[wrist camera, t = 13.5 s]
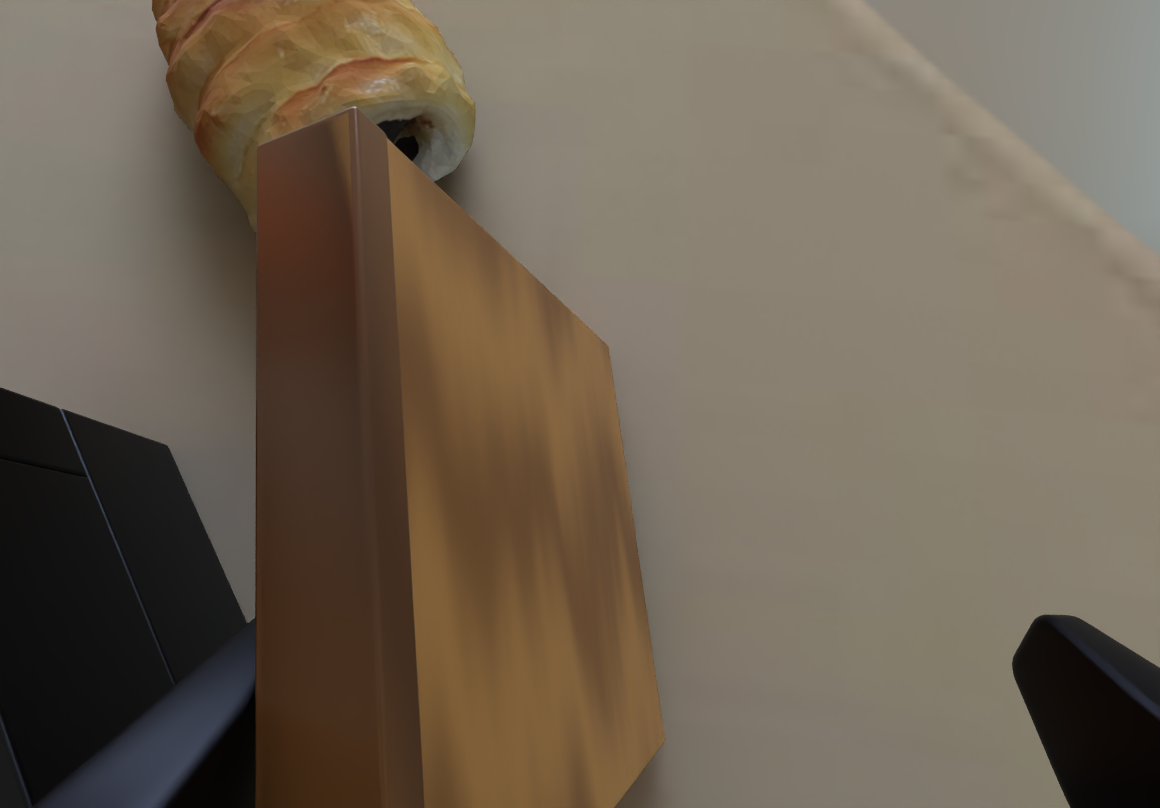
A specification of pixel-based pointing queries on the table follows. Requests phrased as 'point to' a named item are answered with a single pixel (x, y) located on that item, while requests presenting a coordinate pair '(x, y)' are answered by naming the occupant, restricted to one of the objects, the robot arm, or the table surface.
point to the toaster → (93, 589)
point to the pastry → (310, 78)
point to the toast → (432, 506)
